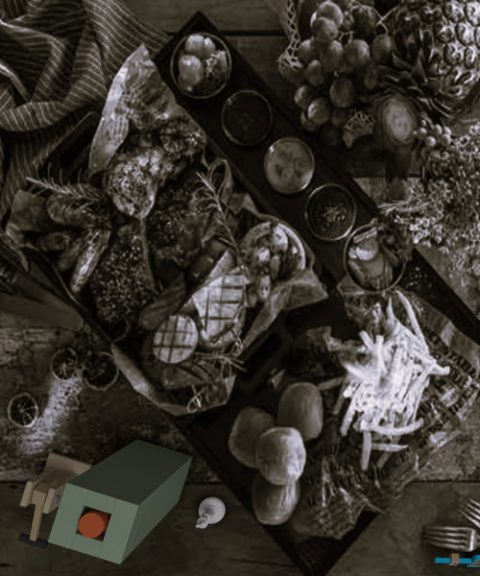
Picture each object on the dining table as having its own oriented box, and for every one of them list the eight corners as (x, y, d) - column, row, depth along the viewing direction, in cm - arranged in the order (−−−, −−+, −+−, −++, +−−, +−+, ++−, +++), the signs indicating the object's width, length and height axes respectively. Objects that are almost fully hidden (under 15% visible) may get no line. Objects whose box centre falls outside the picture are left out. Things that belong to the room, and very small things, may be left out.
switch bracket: (78, 509, 144) (51, 529, 132) (37, 497, 143) (7, 515, 132) (92, 464, 144) (67, 479, 132) (52, 451, 144) (23, 465, 132)
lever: (49, 544, 138) (42, 552, 136) (22, 535, 138) (15, 544, 136) (60, 488, 134) (53, 496, 132) (33, 480, 134) (25, 487, 132)
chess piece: (195, 501, 144) (182, 517, 134) (220, 493, 144) (209, 508, 134) (203, 526, 144) (190, 543, 134) (228, 518, 144) (217, 535, 134)
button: (83, 527, 113) (75, 533, 110) (90, 504, 113) (82, 509, 110) (106, 534, 113) (99, 541, 110) (113, 511, 113) (106, 517, 110)
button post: (122, 484, 144) (47, 542, 111) (137, 439, 144) (66, 482, 111) (178, 502, 144) (119, 564, 111) (192, 456, 144) (138, 505, 111)
